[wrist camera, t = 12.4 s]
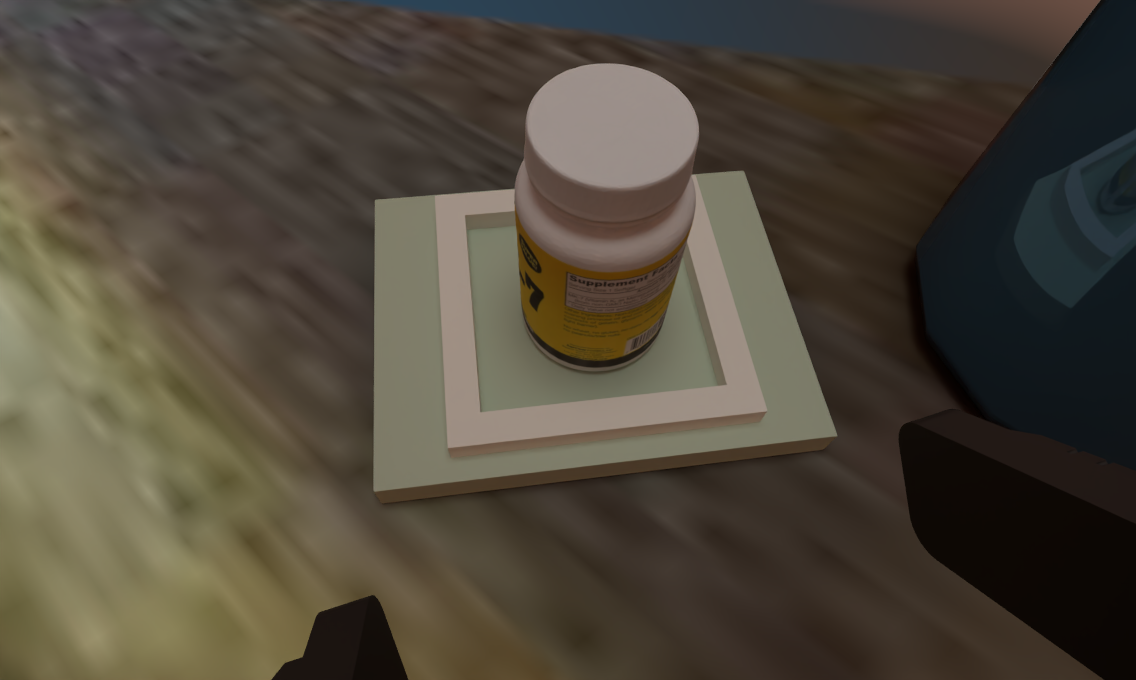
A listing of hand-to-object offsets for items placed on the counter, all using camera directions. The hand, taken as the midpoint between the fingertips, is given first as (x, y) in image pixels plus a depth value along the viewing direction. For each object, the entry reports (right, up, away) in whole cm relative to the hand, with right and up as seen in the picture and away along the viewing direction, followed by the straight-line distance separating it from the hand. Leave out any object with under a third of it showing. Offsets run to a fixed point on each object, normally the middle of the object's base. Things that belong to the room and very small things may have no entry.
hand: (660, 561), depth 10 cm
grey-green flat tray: (-1, +4, +14) cm, 14 cm away
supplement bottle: (-1, +4, +13) cm, 14 cm away
